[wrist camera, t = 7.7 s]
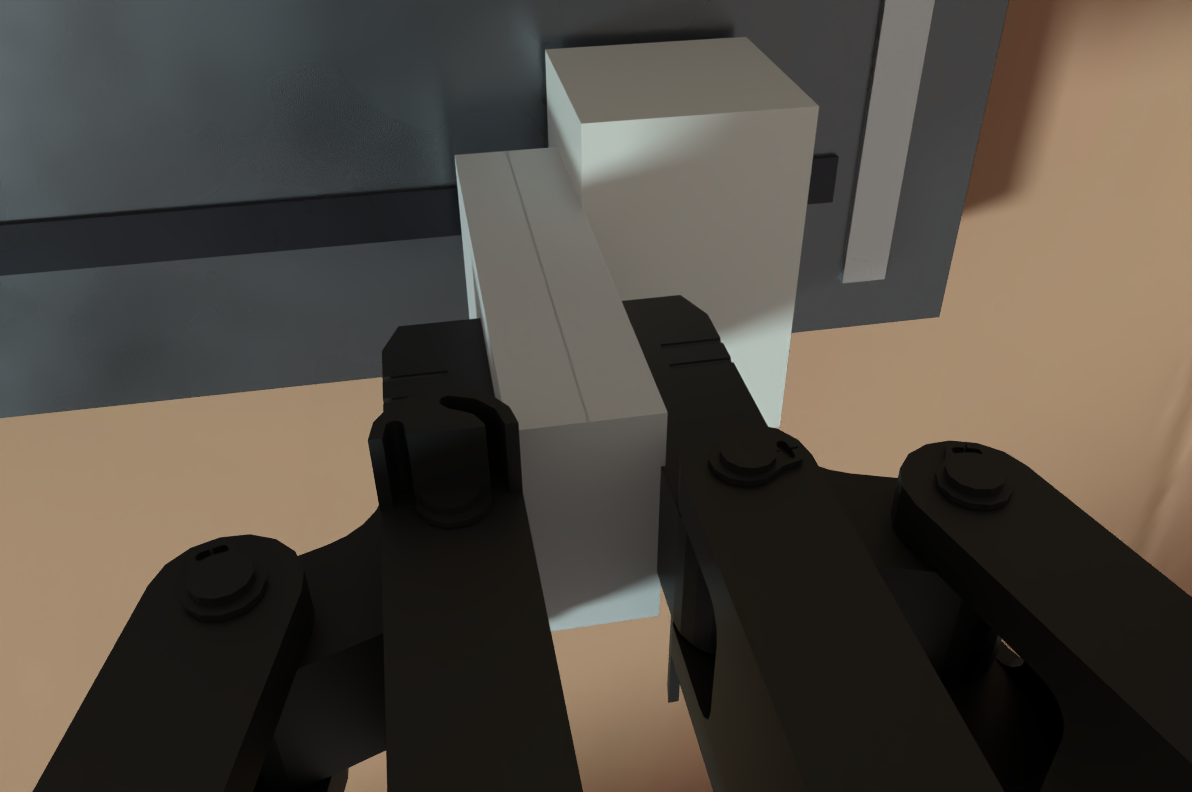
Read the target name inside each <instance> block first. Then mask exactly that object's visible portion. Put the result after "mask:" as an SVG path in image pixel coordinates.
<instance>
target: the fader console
mask: <svg viewBox="0 0 1192 792" xmlns="http://www.w3.org/2000/svg"><path fill="white" fill-rule="evenodd" d="M1008 3H1009V0H0V418H5V417H15V416H24V415H33V414H42V413H52V412H61V411H70V410H80V409H89V408H98V407H107V406H117V405H126V404H135V403H145V402H154V401H163V400H172V399H182V398H191V397H200V396H210V395H219V394H228V393H237V392H247V391H256V390H265V389H275V388H284V387H293V386H302V385H312V384H321V383H330V382H340V381H349V380H358V379H367V378H377V377H382V350H383V348H384V347H385V345H386V344H387V343H388V341H389V340H390V338H391V337H392V335H393V334H394V332H395V331H396V329H397V328H398V326H407V325H417V324H426V323H436V322H446V321H456V320H466V319H469V308H468V297H467V286H466V275H465V264H464V253H463V242H462V231H461V220H460V209H459V199H458V188H457V177H456V166H455V155H461V154H474V153H487V152H500V151H513V150H526V149H539V148H549V147H548V118H547V90H546V61H545V49H559V48H575V47H591V46H607V45H623V44H639V43H655V42H671V41H687V40H703V39H719V38H735V37H747V38H748V39H749V40H750V41H751V42H752V43H753V44H754V45H755V46H756V47H757V48H758V49H760V50H761V51H762V52H763V53H764V54H765V55H766V56H767V57H768V58H769V59H770V60H771V61H772V62H773V63H774V64H775V65H776V66H777V67H778V68H780V69H781V70H782V71H783V72H784V73H785V74H786V75H787V76H788V77H789V78H790V79H791V80H792V81H793V82H794V83H795V84H796V85H797V86H799V87H800V88H801V89H802V90H803V91H804V92H805V93H806V94H807V95H808V96H809V97H810V98H811V99H812V100H813V101H814V102H815V103H816V104H817V105H819V112H818V120H817V128H816V136H815V144H814V152H813V160H812V168H811V176H810V185H809V193H808V201H807V209H806V217H805V225H804V233H803V241H802V249H801V257H800V265H799V273H798V282H797V290H796V298H795V306H794V314H793V322H792V330H791V333H795V332H804V331H813V330H822V329H832V328H841V327H850V326H860V325H869V324H878V323H887V322H897V321H906V320H915V319H924V318H934V317H939V315H940V311H941V306H942V302H943V297H944V293H945V288H946V284H947V279H948V275H949V270H950V266H951V261H952V257H953V252H954V247H955V243H956V238H957V234H958V229H959V225H960V220H961V216H962V211H963V207H964V202H965V198H966V193H967V189H968V184H969V180H970V175H971V170H972V166H973V161H974V157H975V152H976V148H977V143H978V139H979V134H980V130H981V125H982V121H983V116H984V112H985V107H986V102H987V98H988V93H989V89H990V84H991V80H992V75H993V71H994V66H995V62H996V57H997V53H998V48H999V44H1000V39H1001V34H1002V30H1003V25H1004V21H1005V16H1006V12H1007V7H1008Z"/></svg>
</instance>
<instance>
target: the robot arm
mask: <svg viewBox="0 0 1192 792" xmlns="http://www.w3.org/2000/svg"><path fill="white" fill-rule="evenodd" d="M455 166H456V177H457V188H458V199H459V209H460V220H461V231H462V242H463V253H464V264H465V275H466V286H467V297H468V308H469V319H466V320H456V321H446V322H436V323H426V324H417V325H407V326H398V328H397V329H396V331H395V332H394V334H393V335H392V337H391V338H390V340H389V341H388V343H387V344H386V345H385V347H384V348H383V350H382V377H383V402H384V404H383V411H384V412H383V413H382V414H381V415H380V416H379V417H378V418H377V419H376V420H375V421H374V422H373V425H372V428H371V432H370V435H369V438H368V444H369V450H370V456H371V461H372V467H373V473H374V479H375V484H376V490H377V496H378V502H379V506H378V508H377V510H376V511H375V512H374V513H373V514H372V516H371V517H370V518H369V519H368V520H367V521H366V522H365V523H364V524H363V525H362V526H360V527H359V528H357V529H356V530H354V531H353V532H352V533H350V534H349V535H347V536H346V537H343V538H341V539H339V540H337V541H335V542H333V543H331V544H328V545H326V546H324V547H321V548H318V549H316V550H313V551H310V552H307V553H305V554H302V555H299V556H297V554H296V552H295V551H294V550H292V549H291V548H289V547H287V546H286V545H284V544H283V543H281V542H280V541H278V540H276V539H272V538H267V537H261V536H256V535H240V536H230V537H220V538H217V539H215V540H212V541H209V542H206V543H203V544H201V545H198V546H195V547H192V548H190V549H188V550H187V551H185V552H184V553H182V554H181V555H179V556H178V557H176V558H175V559H173V560H172V561H170V562H169V563H167V564H166V565H165V566H164V567H163V568H162V569H161V571H160V572H159V573H158V574H157V575H156V577H155V578H154V579H153V580H152V581H151V583H150V584H149V585H148V586H147V588H146V590H145V592H144V594H143V595H142V597H141V599H140V601H139V602H138V604H137V606H136V608H135V610H134V611H133V613H132V615H131V617H130V619H129V620H128V622H127V624H126V626H125V627H124V629H123V631H122V633H121V635H120V636H119V638H118V640H117V642H116V644H115V645H114V647H113V649H112V651H111V652H110V654H109V656H108V658H107V660H106V661H105V663H104V665H103V667H102V669H101V670H100V672H99V674H98V676H97V678H96V679H95V681H94V683H93V685H92V686H91V688H90V690H89V692H88V694H87V695H86V697H85V699H84V701H83V703H82V704H81V706H80V708H79V710H78V711H77V713H76V715H75V717H74V719H73V720H72V722H71V724H70V726H69V728H68V729H67V731H66V733H65V735H64V737H63V738H62V740H61V742H60V744H59V745H58V747H57V749H56V751H55V753H54V754H53V756H52V758H51V760H50V762H49V763H48V765H47V767H46V769H45V770H44V772H43V774H42V776H41V778H40V779H39V781H38V783H37V785H36V787H35V788H34V790H33V792H344V790H345V787H346V783H347V780H348V768H349V767H351V766H353V765H356V764H358V763H360V762H362V761H364V760H366V759H368V758H370V757H373V756H375V755H377V754H379V753H381V752H383V751H385V750H386V756H387V792H583V790H582V785H581V780H580V775H579V770H578V765H577V760H576V755H575V750H574V745H573V740H572V735H571V730H570V725H569V720H568V715H567V710H566V705H565V700H564V695H563V690H562V685H561V680H560V675H559V670H558V665H557V660H556V655H555V650H554V645H553V640H552V635H551V631H557V630H564V629H571V628H578V627H584V626H591V625H598V624H605V623H612V622H618V621H625V620H632V619H639V618H645V617H652V616H659V602H660V583H661V586H662V589H663V592H664V595H665V598H666V601H667V604H668V607H669V610H670V613H671V626H670V644H669V663H668V682H667V687H668V703H669V702H675V701H679V686H681V689H682V692H683V695H684V698H685V702H686V705H687V708H688V711H689V715H690V718H691V721H692V724H693V727H694V731H695V734H696V737H697V740H698V743H699V747H700V750H701V753H702V756H703V759H704V763H705V766H706V769H707V772H708V776H709V779H710V782H711V785H712V788H713V792H1192V597H1191V596H1190V595H1188V594H1187V593H1186V592H1185V591H1183V590H1182V589H1181V588H1180V587H1178V586H1177V585H1176V584H1175V583H1173V582H1172V581H1171V580H1169V579H1168V578H1167V577H1166V576H1164V575H1163V574H1162V573H1161V572H1159V571H1158V570H1157V569H1156V568H1154V567H1153V566H1152V565H1151V564H1149V563H1148V562H1147V561H1146V560H1144V559H1143V558H1142V557H1141V556H1139V555H1138V554H1137V553H1136V552H1134V551H1133V550H1132V549H1131V548H1129V547H1128V546H1127V545H1126V544H1124V543H1123V542H1122V541H1121V540H1119V539H1118V538H1117V537H1116V536H1114V535H1113V534H1112V533H1111V532H1109V531H1108V530H1107V529H1106V528H1104V527H1103V526H1102V525H1101V524H1099V523H1098V522H1097V521H1096V520H1094V519H1093V518H1092V517H1091V516H1089V515H1088V514H1087V513H1085V512H1084V511H1083V510H1082V509H1080V508H1079V507H1078V506H1077V505H1075V504H1074V503H1073V502H1072V501H1070V500H1069V499H1068V498H1067V497H1065V496H1064V495H1063V494H1062V493H1060V492H1059V491H1058V490H1057V489H1055V488H1054V487H1053V486H1052V485H1050V484H1049V483H1048V482H1047V481H1045V480H1044V479H1043V478H1042V477H1040V476H1039V475H1038V474H1037V473H1035V472H1034V471H1033V470H1032V469H1030V468H1029V467H1028V466H1027V465H1025V464H1023V463H1022V462H1020V461H1018V460H1017V459H1015V458H1013V457H1012V456H1010V455H1008V454H1007V453H1005V452H1003V451H1000V450H997V449H994V448H991V447H987V446H984V445H981V444H978V443H970V442H959V441H944V442H938V443H932V444H926V445H924V446H922V447H920V448H919V449H917V450H915V451H913V452H911V453H910V454H908V456H907V458H906V459H905V461H904V463H903V464H902V466H901V468H900V471H899V476H898V478H891V477H881V476H871V475H860V474H850V473H844V472H839V471H833V470H828V469H825V468H822V467H819V466H818V464H817V463H816V461H815V459H814V457H813V456H812V454H811V453H810V452H809V451H808V450H807V449H806V448H805V447H804V446H803V445H802V443H801V442H800V441H799V440H797V439H795V438H794V437H792V436H790V435H788V434H786V433H784V432H782V431H781V430H779V429H776V428H772V427H768V425H767V423H766V422H765V420H764V418H763V416H762V414H761V412H760V410H759V409H758V407H757V405H756V403H755V401H754V399H753V397H752V396H751V394H750V392H749V390H748V388H747V386H746V384H745V383H744V381H743V379H742V377H741V375H740V373H739V371H738V370H737V368H736V366H735V364H734V362H731V357H730V355H729V353H728V351H727V349H726V347H725V345H724V344H723V343H721V340H720V336H719V334H718V332H717V331H716V329H715V327H714V325H713V323H712V321H711V319H710V318H709V316H708V314H707V313H705V312H704V311H702V310H701V309H700V308H698V307H697V306H695V305H694V304H693V303H691V302H690V301H688V300H687V299H685V298H684V297H683V296H681V295H675V296H665V297H655V298H645V299H635V300H625V301H621V299H620V296H619V294H618V291H617V289H616V287H615V284H614V282H613V279H612V277H611V274H610V272H609V270H608V267H607V265H606V262H605V260H604V258H603V255H602V253H601V250H600V248H599V245H598V243H597V241H596V238H595V236H594V233H593V231H592V228H591V226H590V224H589V221H588V219H587V216H586V214H585V212H584V209H582V207H581V205H580V202H579V200H578V197H577V195H576V192H575V190H574V188H573V185H572V183H571V180H570V178H569V175H568V173H567V170H566V168H565V166H564V163H563V161H562V158H561V156H560V153H559V151H558V148H557V147H552V148H539V149H526V150H513V151H500V152H487V153H474V154H461V155H455ZM1001 639H1003V640H1004V641H1005V642H1006V643H1007V644H1008V645H1009V646H1010V647H1011V648H1012V649H1013V650H1014V651H1015V652H1016V653H1017V654H1018V655H1019V656H1020V657H1021V658H1020V657H1019V656H1017V655H1016V654H1015V653H1014V652H1012V651H1011V650H1010V649H1009V648H1008V647H1007V646H1006V645H1005V644H1004V643H1003V642H1002V641H1001Z"/></svg>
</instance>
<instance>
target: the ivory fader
mask: <svg viewBox="0 0 1192 792" xmlns="http://www.w3.org/2000/svg"><path fill="white" fill-rule="evenodd" d="M545 61H546V90H547V118H548V147H549V148H552V147H557V148H558V151H559V153H560V156H561V158H562V161H563V163H564V166H565V168H566V170H567V173H568V175H569V178H570V180H571V183H572V185H573V188H574V190H575V192H576V195H577V197H578V200H579V202H580V205H581V207H582V209H584V212H585V214H586V216H587V219H588V221H589V224H590V226H591V228H592V231H593V233H594V236H595V238H596V241H597V243H598V245H599V248H600V250H601V253H602V255H603V258H604V260H605V262H606V265H607V267H608V270H609V272H610V274H611V277H612V279H613V282H614V284H615V287H616V289H617V291H618V294H619V296H620V299H621V301H625V300H635V299H645V298H655V297H665V296H675V295H681V296H683V297H684V298H685V299H687V300H688V301H690V302H691V303H693V304H694V305H695V306H697V307H698V308H700V309H701V310H702V311H704V312H705V313H707V314H708V316H709V318H710V319H711V321H712V323H713V325H714V327H715V329H716V331H717V332H718V334H719V336H720V340H721V343H723V344H724V345H725V347H726V349H727V351H728V353H729V355H730V357H731V362H734V364H735V366H736V368H737V370H738V371H739V373H740V375H741V377H742V379H743V381H744V383H745V384H746V386H747V388H748V390H749V392H750V394H751V396H752V397H753V399H754V401H755V403H756V405H757V407H758V409H759V410H760V412H761V414H762V416H763V418H764V420H765V422H766V423H767V425H768V427H772V428H775V427H780V419H781V411H782V403H783V395H784V387H785V379H786V371H787V362H788V354H789V346H790V338H791V330H792V322H793V314H794V306H795V298H796V290H797V282H798V273H799V265H800V257H801V249H802V241H803V233H804V225H805V217H806V209H807V201H808V193H809V185H810V176H811V168H812V160H813V152H814V144H815V136H816V128H817V120H818V112H819V105H817V104H816V103H815V102H814V101H813V100H812V99H811V98H810V97H809V96H808V95H807V94H806V93H805V92H804V91H803V90H802V89H801V88H800V87H799V86H797V85H796V84H795V83H794V82H793V81H792V80H791V79H790V78H789V77H788V76H787V75H786V74H785V73H784V72H783V71H782V70H781V69H780V68H778V67H777V66H776V65H775V64H774V63H773V62H772V61H771V60H770V59H769V58H768V57H767V56H766V55H765V54H764V53H763V52H762V51H761V50H760V49H758V48H757V47H756V46H755V45H754V44H753V43H752V42H751V41H750V40H749V39H748V38H747V37H735V38H719V39H703V40H687V41H671V42H655V43H639V44H623V45H607V46H591V47H575V48H559V49H545Z"/></svg>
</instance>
